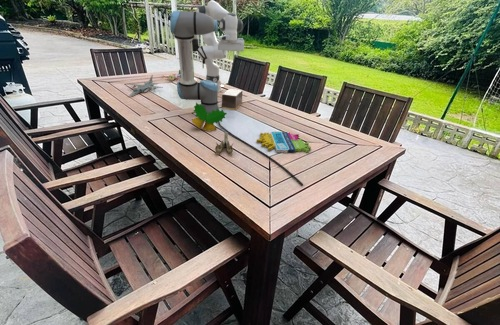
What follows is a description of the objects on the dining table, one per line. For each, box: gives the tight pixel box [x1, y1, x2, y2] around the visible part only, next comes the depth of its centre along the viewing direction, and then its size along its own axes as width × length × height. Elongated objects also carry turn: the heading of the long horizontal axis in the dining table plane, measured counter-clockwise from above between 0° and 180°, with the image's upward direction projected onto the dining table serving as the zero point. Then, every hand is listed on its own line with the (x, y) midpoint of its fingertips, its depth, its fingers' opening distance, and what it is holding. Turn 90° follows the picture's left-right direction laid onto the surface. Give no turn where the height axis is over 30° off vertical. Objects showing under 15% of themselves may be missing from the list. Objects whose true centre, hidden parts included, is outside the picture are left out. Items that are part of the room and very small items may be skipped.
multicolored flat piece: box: [256, 131, 312, 154], centre depth 152 cm, size 26×2×30 cm
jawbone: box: [214, 131, 234, 156], centre depth 136 cm, size 9×15×10 cm
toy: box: [161, 69, 181, 82], centre depth 279 cm, size 28×7×30 cm
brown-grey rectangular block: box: [221, 88, 243, 111], centre depth 207 cm, size 19×11×11 cm, turn 167°
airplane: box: [127, 74, 164, 98], centre depth 227 cm, size 38×31×10 cm
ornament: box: [191, 102, 228, 132], centre depth 162 cm, size 21×8×15 cm, turn 105°
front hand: (194, 67), depth 208 cm, fingers open, 13 cm apart
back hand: (230, 57), depth 206 cm, fingers open, 8 cm apart
